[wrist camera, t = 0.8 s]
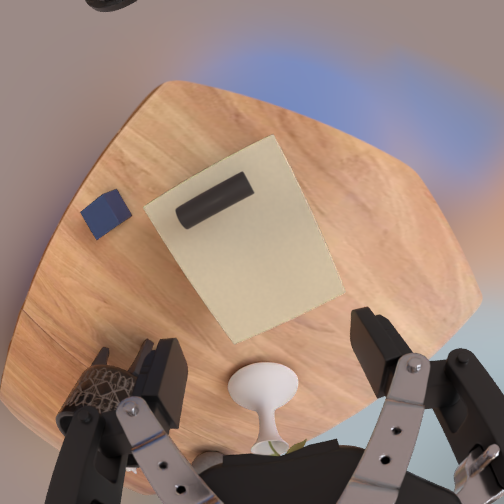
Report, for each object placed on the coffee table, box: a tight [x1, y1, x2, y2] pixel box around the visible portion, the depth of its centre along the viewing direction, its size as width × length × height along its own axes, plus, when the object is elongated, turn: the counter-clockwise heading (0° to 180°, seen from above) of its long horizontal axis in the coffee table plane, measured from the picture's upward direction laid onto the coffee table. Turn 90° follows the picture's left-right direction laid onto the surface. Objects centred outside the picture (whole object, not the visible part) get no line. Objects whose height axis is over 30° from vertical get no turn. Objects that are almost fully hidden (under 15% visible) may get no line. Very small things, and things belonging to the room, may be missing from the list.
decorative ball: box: [192, 452, 224, 474], centre depth 47 cm, size 10×10×10 cm
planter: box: [56, 339, 154, 468], centre depth 32 cm, size 13×13×18 cm
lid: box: [143, 134, 346, 344], centre depth 23 cm, size 16×13×5 cm
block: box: [80, 189, 132, 240], centre depth 30 cm, size 4×4×4 cm
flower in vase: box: [228, 362, 307, 456], centre depth 31 cm, size 13×11×25 cm
